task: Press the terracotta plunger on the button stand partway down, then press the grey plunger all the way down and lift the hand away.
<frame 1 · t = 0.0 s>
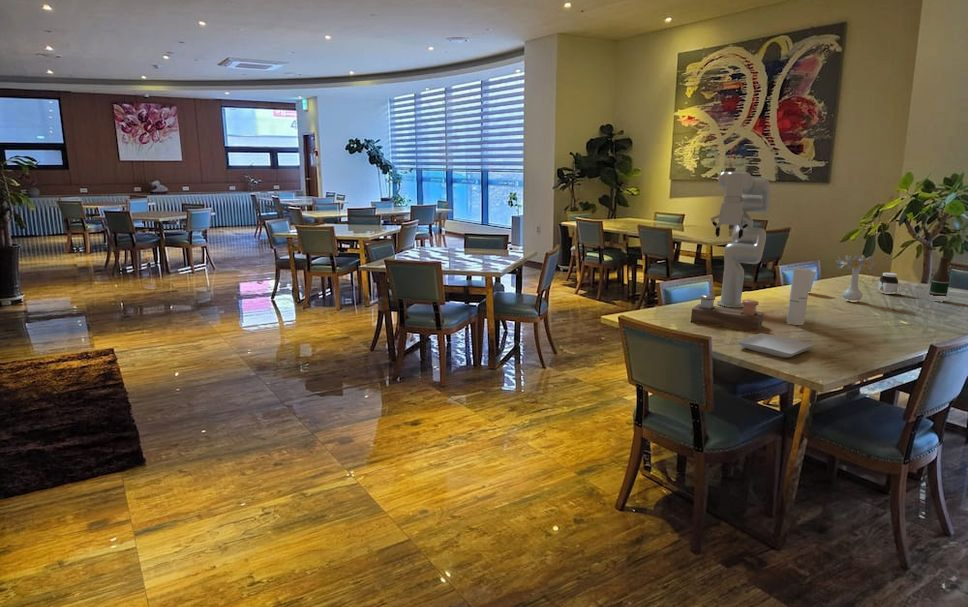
hand: (728, 237, 285), 37 cm above the table, tool pointing down, fingers open, 9 cm apart
spread jar: (890, 294, 350), on the table
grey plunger: (707, 302, 278), point 8 cm above the table, slide at 0.0 cm
foam cup: (803, 292, 349), on the table
button stand: (726, 323, 276), on the table
salad plate: (774, 351, 238), on the table
white tall box: (794, 324, 278), on the table
beer bottle: (936, 301, 334), on the table
terracotta plunger: (749, 308, 269), point 8 cm above the table, slide at 0.0 cm
flower vase: (849, 301, 328), on the table
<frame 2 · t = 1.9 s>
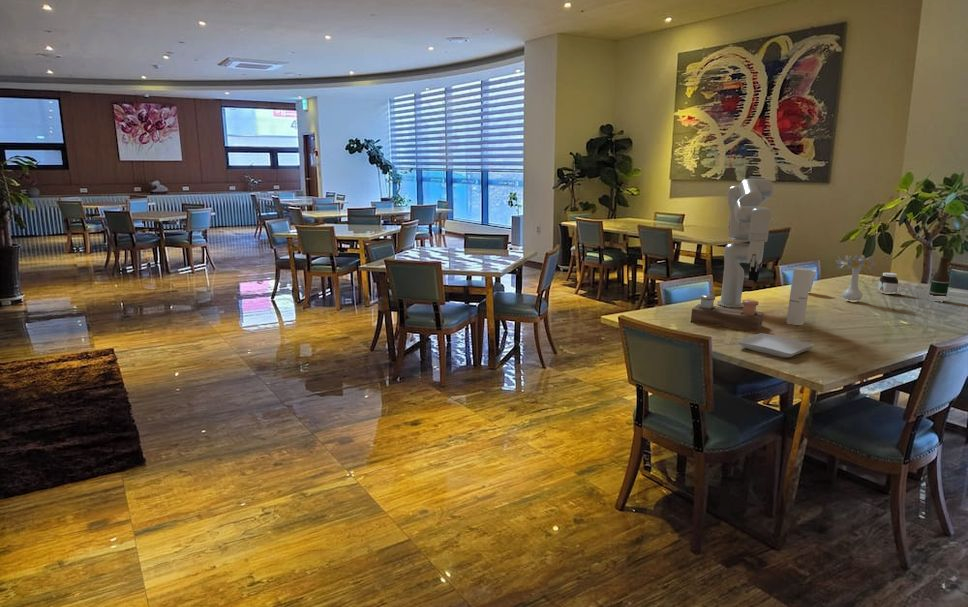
hand: (753, 279, 266), 21 cm above the table, tool pointing down, fingers closed
nothing on the table moved.
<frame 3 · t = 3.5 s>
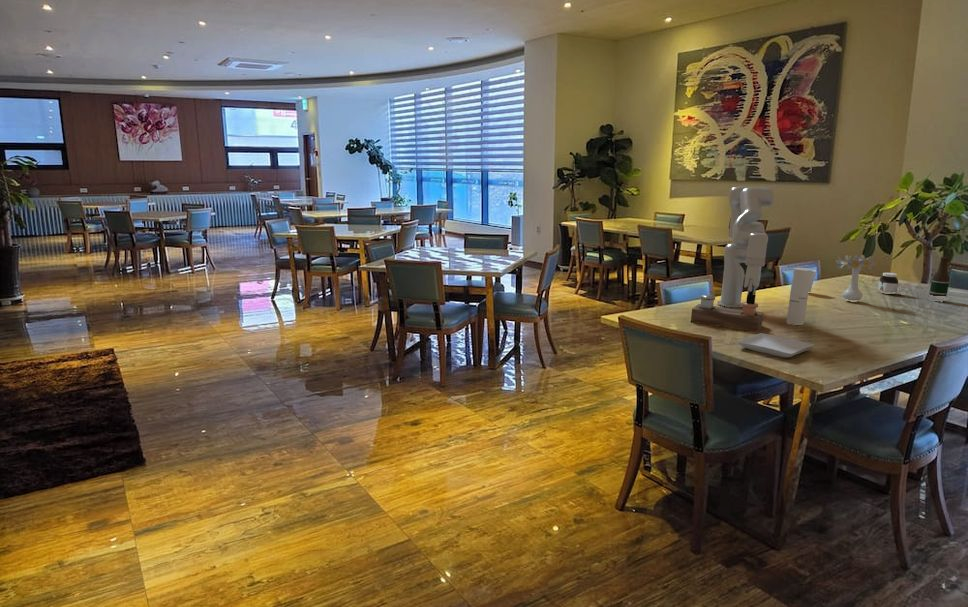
hand: (750, 303, 269), 11 cm above the table, tool pointing down, fingers closed
terracotta plunger: (749, 310, 269), point 7 cm above the table, slide at 1.0 cm, touching gripper
everything else where it was.
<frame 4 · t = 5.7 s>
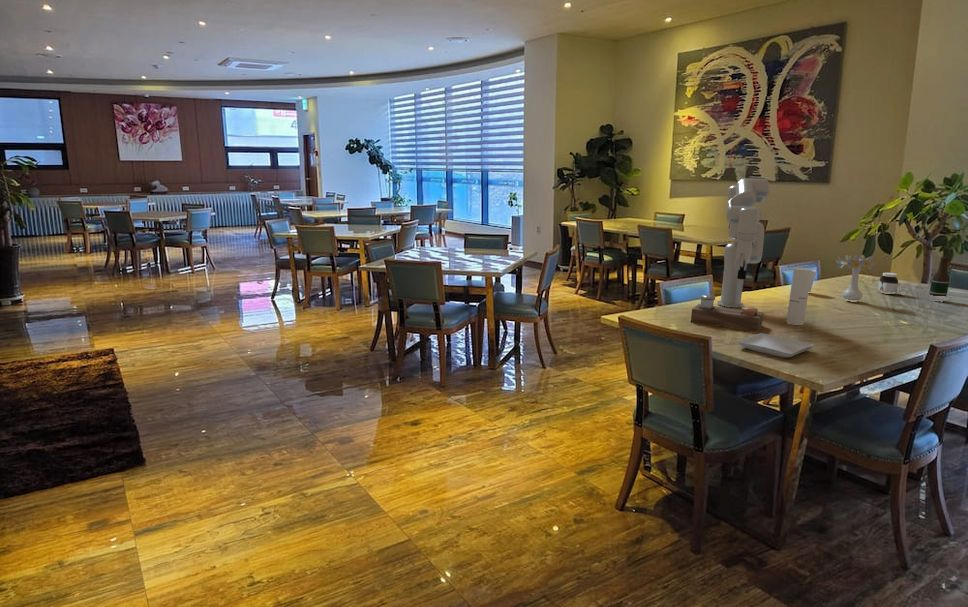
hand: (741, 278, 269), 21 cm above the table, tool pointing down, fingers closed
terracotta plunger: (748, 315, 270), point 5 cm above the table, slide at 3.1 cm
everything else where it was.
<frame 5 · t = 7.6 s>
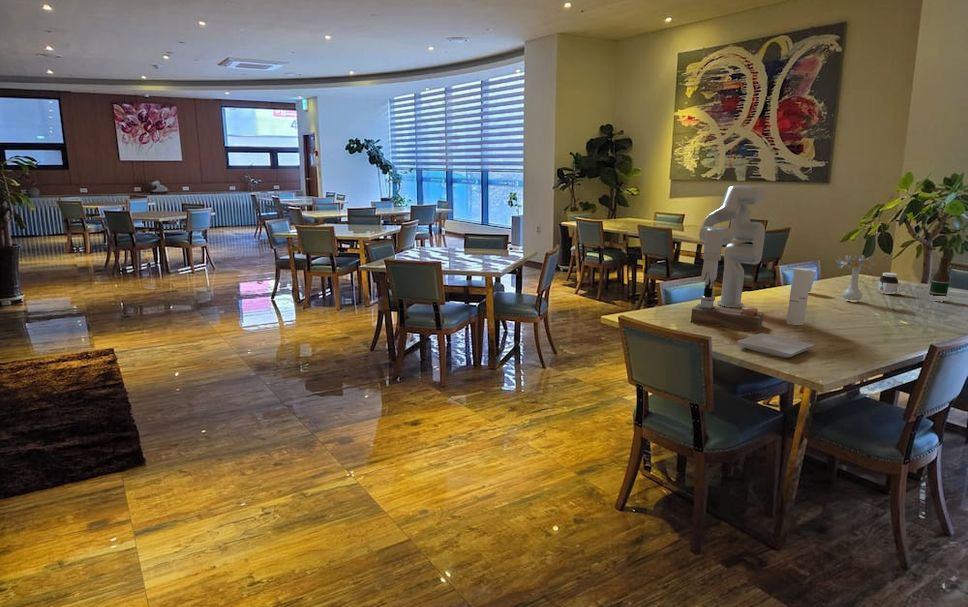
hand: (707, 296, 278), 11 cm above the table, tool pointing down, fingers closed
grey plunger: (707, 303, 279), point 8 cm above the table, slide at 0.3 cm, touching gripper
everything else where it was.
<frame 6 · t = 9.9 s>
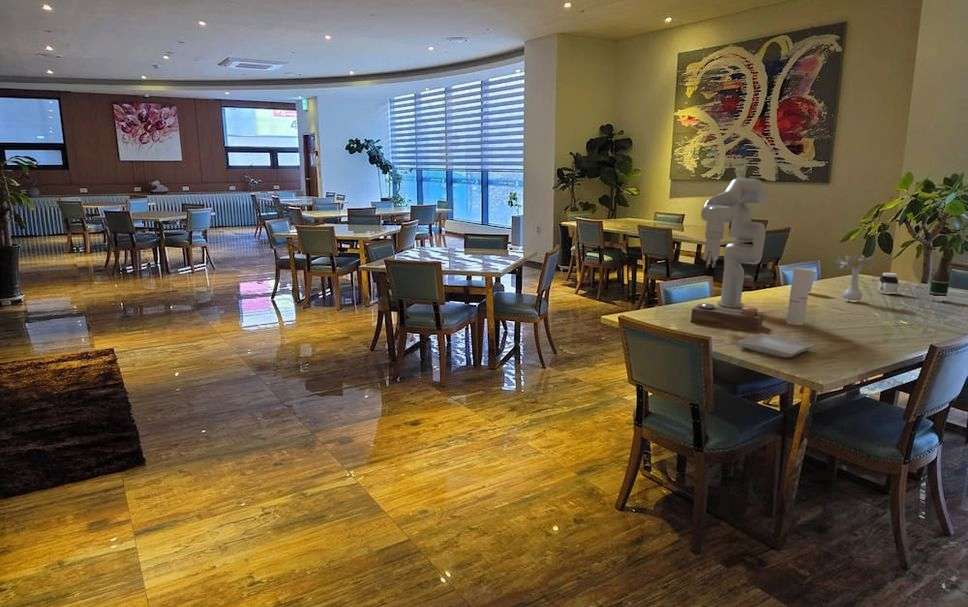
hand: (710, 276, 276), 21 cm above the table, tool pointing down, fingers closed
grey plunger: (706, 311, 279), point 4 cm above the table, slide at 4.1 cm
everything else where it was.
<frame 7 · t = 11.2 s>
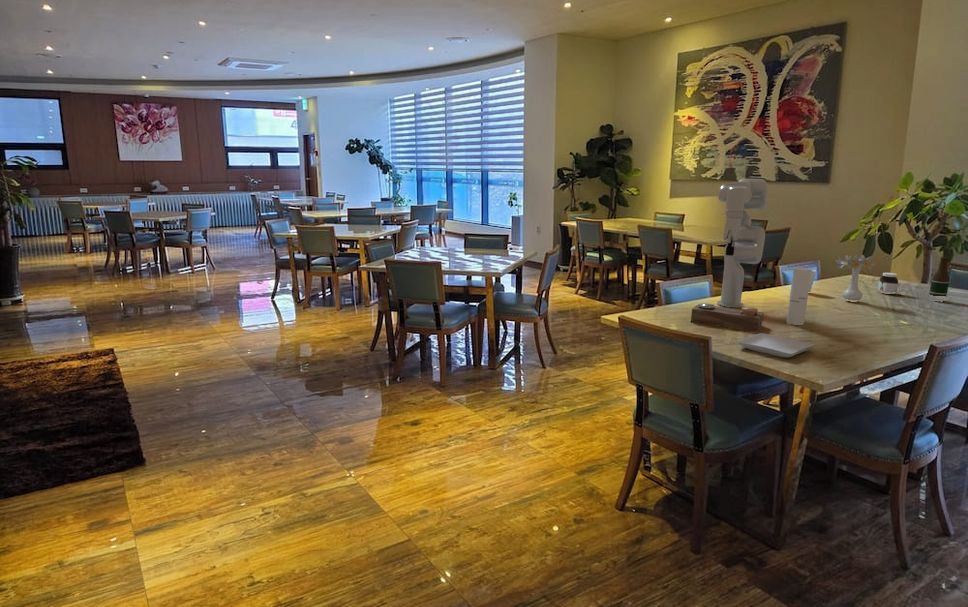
hand: (729, 255, 282), 29 cm above the table, tool pointing down, fingers closed
nothing on the table moved.
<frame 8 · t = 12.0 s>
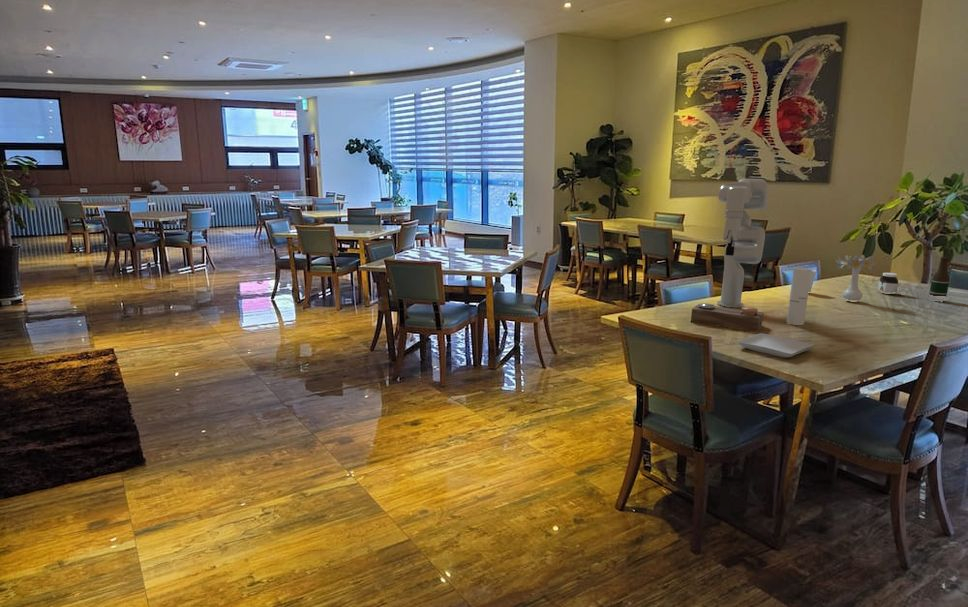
hand: (729, 255, 282), 29 cm above the table, tool pointing down, fingers closed
nothing on the table moved.
at the end: terracotta plunger slide at 3.1 cm; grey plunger slide at 4.1 cm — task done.
